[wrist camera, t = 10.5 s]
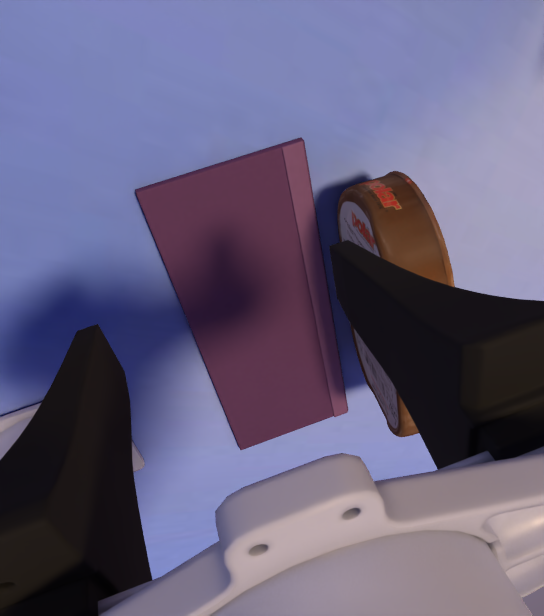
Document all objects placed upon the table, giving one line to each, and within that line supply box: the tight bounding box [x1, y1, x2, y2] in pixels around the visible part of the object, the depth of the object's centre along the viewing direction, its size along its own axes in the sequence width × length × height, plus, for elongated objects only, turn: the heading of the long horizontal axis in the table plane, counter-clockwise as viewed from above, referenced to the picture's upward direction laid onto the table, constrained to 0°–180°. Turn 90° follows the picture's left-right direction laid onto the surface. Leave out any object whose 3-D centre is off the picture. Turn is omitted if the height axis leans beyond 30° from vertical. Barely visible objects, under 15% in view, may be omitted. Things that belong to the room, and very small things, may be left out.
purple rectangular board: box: [135, 138, 348, 450], centre depth 30 cm, size 8×20×1 cm, turn 12°
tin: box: [337, 171, 455, 437], centre depth 27 cm, size 15×3×8 cm, turn 11°
